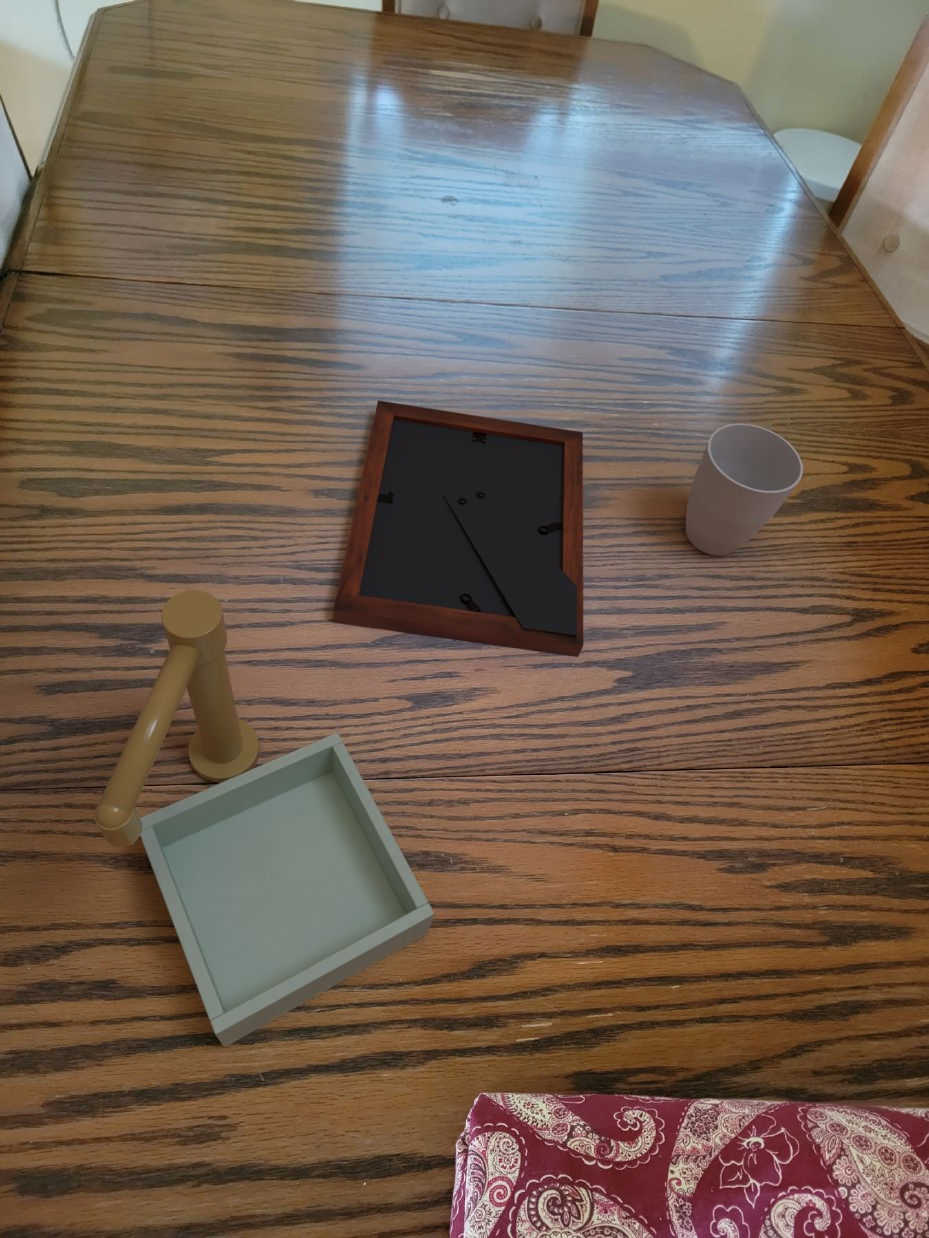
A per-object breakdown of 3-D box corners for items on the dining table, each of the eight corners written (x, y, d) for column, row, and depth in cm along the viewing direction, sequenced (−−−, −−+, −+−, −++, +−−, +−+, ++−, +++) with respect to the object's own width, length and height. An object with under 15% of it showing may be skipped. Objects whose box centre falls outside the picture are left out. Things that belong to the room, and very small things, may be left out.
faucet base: (238, 793, 58) (215, 692, 46) (176, 767, 58) (138, 661, 47) (271, 736, 60) (257, 627, 49) (211, 712, 61) (183, 599, 49)
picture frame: (578, 656, 68) (578, 445, 82) (584, 643, 66) (583, 430, 81) (333, 622, 67) (377, 414, 81) (333, 607, 65) (378, 398, 80)
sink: (427, 933, 54) (434, 913, 50) (224, 1047, 49) (215, 1034, 45) (337, 761, 60) (337, 731, 56) (147, 846, 55) (134, 819, 51)
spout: (184, 624, 49) (174, 584, 46) (237, 636, 49) (230, 596, 46) (85, 840, 42) (64, 809, 38) (147, 853, 42) (132, 824, 38)
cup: (766, 567, 76) (818, 491, 68) (684, 571, 75) (727, 494, 66) (736, 501, 81) (781, 422, 73) (658, 503, 79) (695, 423, 71)
